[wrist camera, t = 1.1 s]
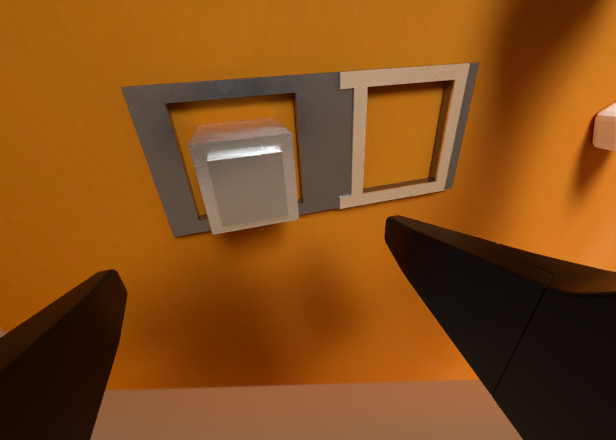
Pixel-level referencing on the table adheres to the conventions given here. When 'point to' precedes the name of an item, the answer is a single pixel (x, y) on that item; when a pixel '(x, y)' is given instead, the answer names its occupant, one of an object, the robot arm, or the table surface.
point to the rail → (305, 134)
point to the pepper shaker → (605, 129)
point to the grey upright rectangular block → (245, 173)
